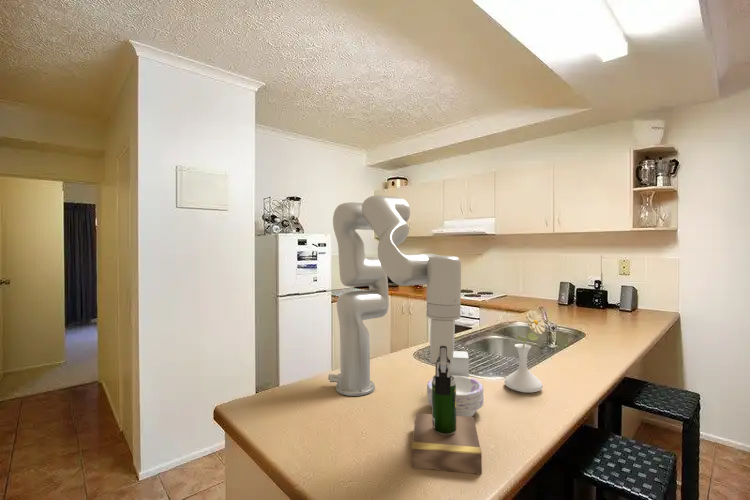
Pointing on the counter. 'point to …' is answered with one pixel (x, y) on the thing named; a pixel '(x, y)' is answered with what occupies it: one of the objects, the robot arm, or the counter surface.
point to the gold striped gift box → (446, 446)
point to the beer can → (444, 410)
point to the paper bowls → (464, 395)
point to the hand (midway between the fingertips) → (442, 385)
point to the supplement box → (460, 364)
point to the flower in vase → (522, 376)
